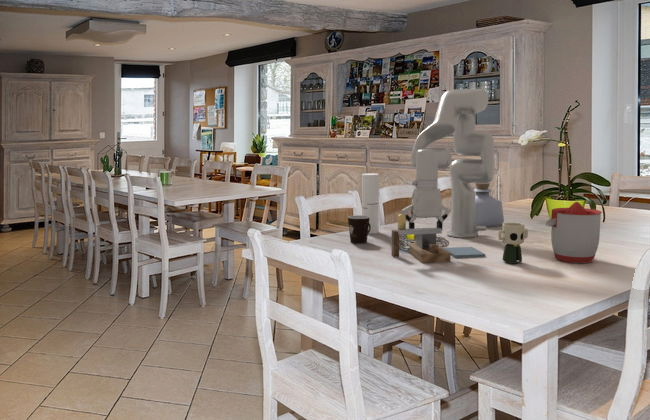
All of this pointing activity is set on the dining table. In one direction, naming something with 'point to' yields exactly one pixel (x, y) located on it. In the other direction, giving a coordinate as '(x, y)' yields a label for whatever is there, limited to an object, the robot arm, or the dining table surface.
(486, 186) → the bottle
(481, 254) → the mat
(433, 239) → the dark grey block
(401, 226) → the latch
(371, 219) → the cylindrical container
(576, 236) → the citrus juicer
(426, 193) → the robot arm
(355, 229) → the coffee mug
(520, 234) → the character mug
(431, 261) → the plane
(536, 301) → the dining table surface
